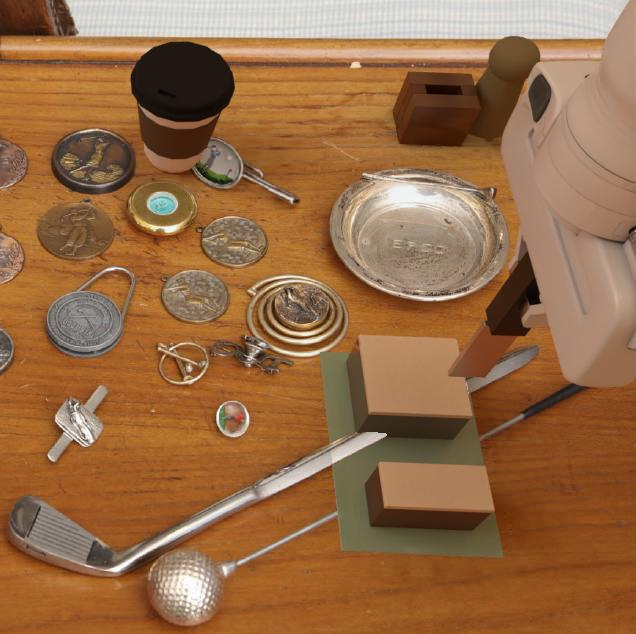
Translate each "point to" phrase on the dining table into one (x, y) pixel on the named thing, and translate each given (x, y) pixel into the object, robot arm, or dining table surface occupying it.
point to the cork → (503, 84)
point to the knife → (498, 324)
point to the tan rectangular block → (428, 496)
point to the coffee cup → (180, 101)
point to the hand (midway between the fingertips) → (525, 297)
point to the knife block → (436, 108)
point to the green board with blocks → (401, 436)
